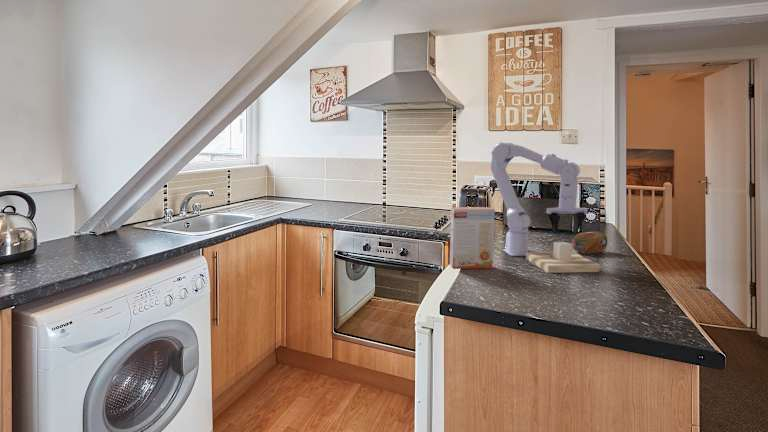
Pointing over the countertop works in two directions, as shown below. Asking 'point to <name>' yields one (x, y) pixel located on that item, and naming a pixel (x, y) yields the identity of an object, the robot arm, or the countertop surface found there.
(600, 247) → the tin
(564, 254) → the keyed peg
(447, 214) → the countertop surface
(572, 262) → the socket plate
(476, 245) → the cracker box
